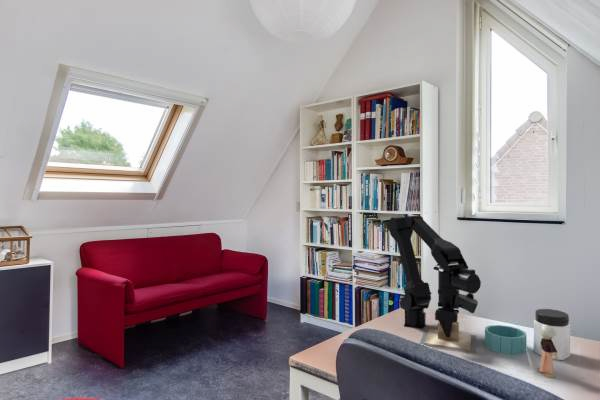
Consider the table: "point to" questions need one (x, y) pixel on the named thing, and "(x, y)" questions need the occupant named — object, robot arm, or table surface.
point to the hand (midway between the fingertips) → (448, 335)
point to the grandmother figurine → (547, 351)
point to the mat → (472, 349)
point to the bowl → (505, 339)
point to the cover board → (448, 343)
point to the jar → (560, 326)
